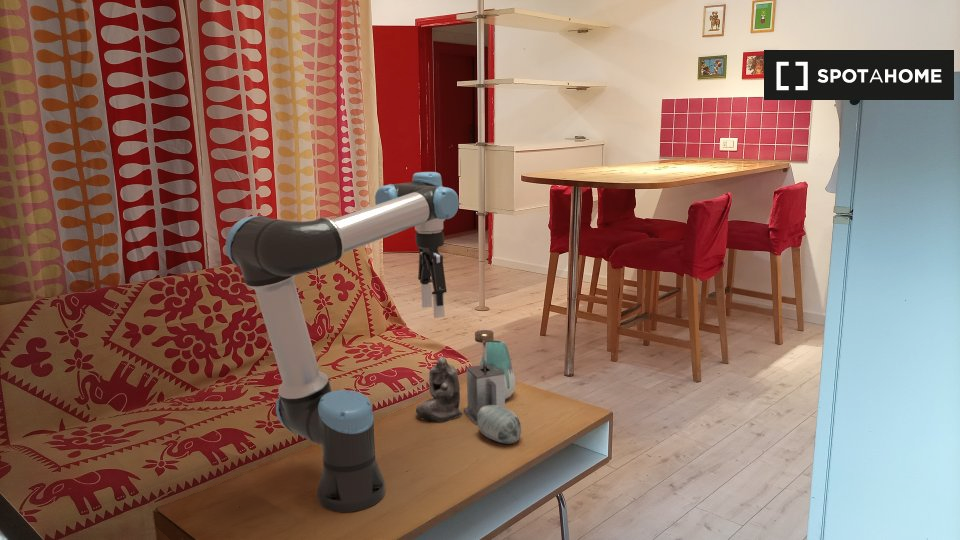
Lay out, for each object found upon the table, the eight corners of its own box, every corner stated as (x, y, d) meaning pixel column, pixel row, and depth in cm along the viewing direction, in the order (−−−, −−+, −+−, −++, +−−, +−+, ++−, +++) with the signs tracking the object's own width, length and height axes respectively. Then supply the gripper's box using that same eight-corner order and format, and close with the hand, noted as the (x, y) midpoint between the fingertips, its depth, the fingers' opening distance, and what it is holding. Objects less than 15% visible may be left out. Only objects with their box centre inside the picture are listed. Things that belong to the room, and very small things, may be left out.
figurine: (416, 424, 201) (413, 363, 197) (415, 407, 212) (413, 349, 208) (463, 421, 202) (461, 360, 198) (460, 404, 213) (458, 346, 209)
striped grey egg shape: (534, 430, 188) (514, 400, 186) (509, 455, 184) (488, 425, 182) (508, 423, 200) (489, 395, 198) (484, 446, 196) (464, 418, 194)
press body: (478, 427, 198) (476, 380, 195) (463, 411, 208) (462, 366, 206) (511, 420, 201) (510, 374, 198) (495, 405, 212) (494, 361, 209)
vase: (498, 386, 226) (496, 332, 223) (523, 397, 218) (522, 340, 214) (469, 396, 219) (467, 340, 215) (494, 407, 211) (493, 349, 207)
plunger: (479, 381, 200) (478, 337, 197) (472, 374, 205) (471, 331, 202) (498, 378, 202) (497, 334, 199) (490, 371, 207) (489, 328, 204)
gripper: (457, 236, 182) (460, 321, 186) (430, 224, 203) (433, 300, 207) (428, 239, 179) (432, 324, 184) (404, 226, 200) (408, 303, 205)
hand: (433, 311), depth 196 cm, fingers open, 10 cm apart
